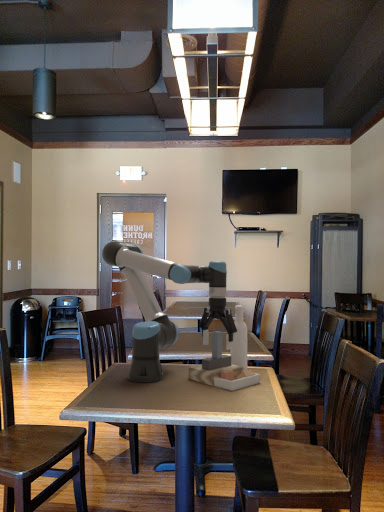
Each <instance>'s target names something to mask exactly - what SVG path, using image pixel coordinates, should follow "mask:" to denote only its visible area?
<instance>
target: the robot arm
mask: <svg viewBox="0 0 384 512" xmlns="http://www.w3.org/2000/svg"><path fill="white" fill-rule="evenodd" d="M101 255H102V259H103V261H104V262H105V263H106V264H107V265H109V266H112V267H118V270H119V272H120V274H121V275H124V276H125V277H126V279H127V281H128V284H129V286H130V288H131V291H132V293H133V296H134V297H135V301H136V302H137V304H138V307H139V309H140V311H141V313H142V315H143V318H144V320H145V321H140V322H137V323H135V324H134V325H133V326H132V333H131V340H132V343H131V346H132V347H131V349H132V350H131V362H130V365H129V368H128V372H127V379H128V380H129V381H131V382H135V383H155V382H159V381H162V380H163V379H164V370H163V367H162V364H161V361H160V350H162V349H164V348H166V349H167V348H170V347H171V346H173V345H174V344H176V342H177V340H178V339H179V327H178V325H177V324H176V323H175V322H173V321H172V320H170V317H169V316H168V314H167V313H164V312H163V311H162V309H161V307H160V304H159V302H158V300H157V298H156V296H155V293H154V291H153V289H152V287H151V285H150V281H148V278H147V276H146V274H149V275H152V276H157V277H159V278H163V279H166V280H171V281H172V282H173V283H175V284H179V285H184V284H208V296H209V298H208V306H206V307H204V308H203V313H202V317H201V319H200V321H199V325H198V328H199V329H201V331H202V332H201V336H202V346H209V344H210V343H209V342H210V341H209V326H210V325H211V324H212V322H213V321H214V320H219V321H220V322H221V323H222V325H223V327H224V329H225V330H226V332H227V333H226V336H225V338H226V341H225V346H226V348H225V349H226V351H228V350H231V349H232V341H233V333H235V332H237V329H236V326H235V323H234V321H235V319H234V318H233V315H232V309H230V308H228V309H226V306H227V298H226V297H227V273H228V272H227V271H228V270H227V263H226V262H225V261H223V260H222V261H215V260H211V261H209V262H208V265H186V264H182V263H177V262H173V261H171V260H166V259H162V258H160V257H156V256H151V255H148V254H144V252H143V250H142V248H141V247H140V246H139V244H136V243H134V242H130V241H126V242H125V241H118V240H112V241H110V242H107V243H106V244H105V245H104V247H103V248H102V252H101Z"/></svg>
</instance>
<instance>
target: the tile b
mask: <svg viewBox="0 0 384 512" xmlns="http://www.w3.org/2000/svg"><path fill="white" fill-rule="evenodd" d="M254 373H255V372H253V370H252V368H250V369H247V370H246V371H243V372H242V373H241V374H239V375H238V376H237V377H236V378H237V379H241V378H244V377H248V376H252V375H254Z"/></svg>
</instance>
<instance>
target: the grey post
mask: <svg viewBox="0 0 384 512" xmlns="http://www.w3.org/2000/svg"><path fill="white" fill-rule="evenodd" d="M211 333H212V334H211V335H212V336H211V356H210V357H207V358H202V359H201V364H202V369H205V370H208V371H209V370H214V369H218V368H222V367H227V366H231V356H230V355H227V354H223V331H220V330H219V331H218V330H216V331H212V332H211Z"/></svg>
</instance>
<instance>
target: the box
mask: <svg viewBox="0 0 384 512" xmlns="http://www.w3.org/2000/svg"><path fill="white" fill-rule="evenodd" d="M243 371H244V370H243ZM243 371H242V372H243ZM253 373H254V375H252V376H248V377H244V378H241V379H235V380H233V381H229V380H225V379H221V378H218V377H214V386H213V387H216V388H217V389H222V390H226V391H228V392H233V391H237V390H239V389H240V390H241V389H243V388H247V387H250V386H254V385H257V384H260V383H261V374H259V373H257V372H253Z"/></svg>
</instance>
